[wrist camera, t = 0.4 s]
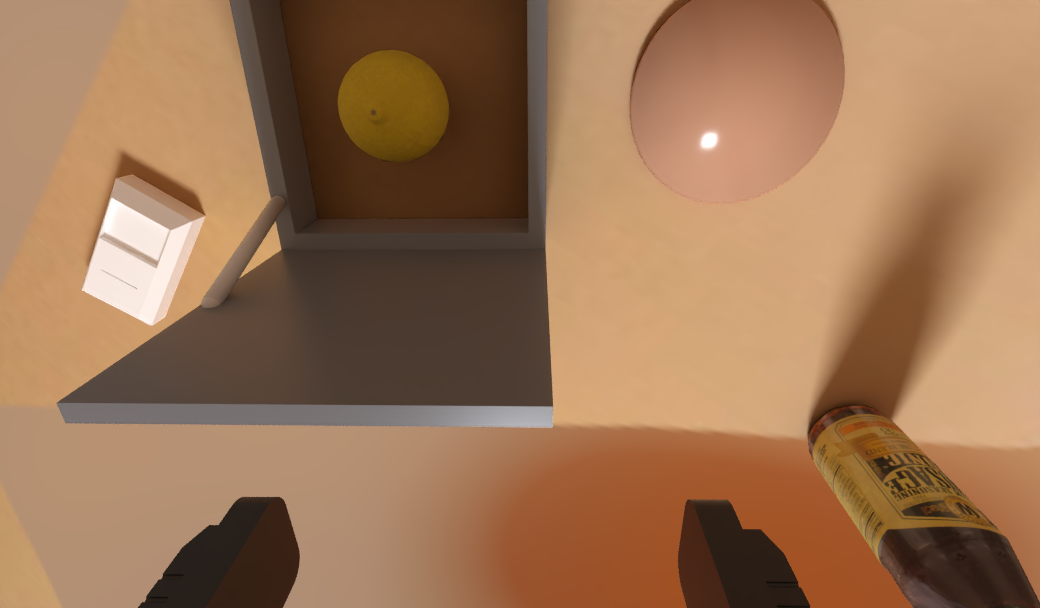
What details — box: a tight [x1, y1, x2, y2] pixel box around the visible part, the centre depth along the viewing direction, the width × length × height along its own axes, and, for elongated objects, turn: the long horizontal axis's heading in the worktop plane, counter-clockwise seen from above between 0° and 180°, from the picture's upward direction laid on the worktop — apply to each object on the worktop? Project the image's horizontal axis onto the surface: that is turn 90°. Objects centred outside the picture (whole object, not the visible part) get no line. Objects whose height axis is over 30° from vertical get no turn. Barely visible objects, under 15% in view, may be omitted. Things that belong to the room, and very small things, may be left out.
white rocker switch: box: [81, 174, 205, 326], centre depth 34 cm, size 5×9×3 cm, turn 147°
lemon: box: [338, 50, 449, 162], centre depth 27 cm, size 6×6×8 cm
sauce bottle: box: [808, 405, 1040, 608], centre depth 31 cm, size 6×6×20 cm
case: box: [57, 0, 553, 427], centre depth 22 cm, size 17×16×20 cm
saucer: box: [630, 0, 845, 204], centre depth 30 cm, size 12×12×1 cm
